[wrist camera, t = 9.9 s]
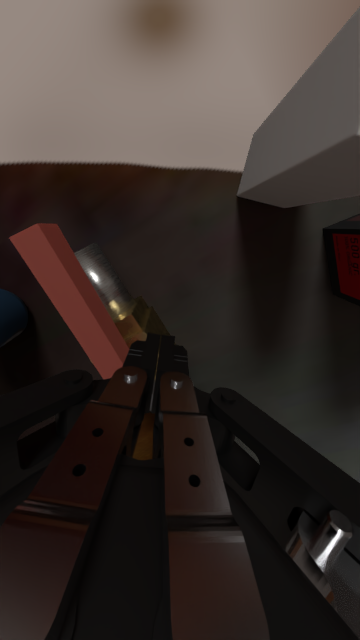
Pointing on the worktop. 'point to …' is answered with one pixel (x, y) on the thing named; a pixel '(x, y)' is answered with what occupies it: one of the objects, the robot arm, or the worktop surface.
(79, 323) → the lever
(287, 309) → the worktop surface
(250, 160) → the milk
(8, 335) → the soda can
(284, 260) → the worktop surface
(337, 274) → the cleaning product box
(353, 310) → the worktop surface
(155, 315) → the pipe valve
